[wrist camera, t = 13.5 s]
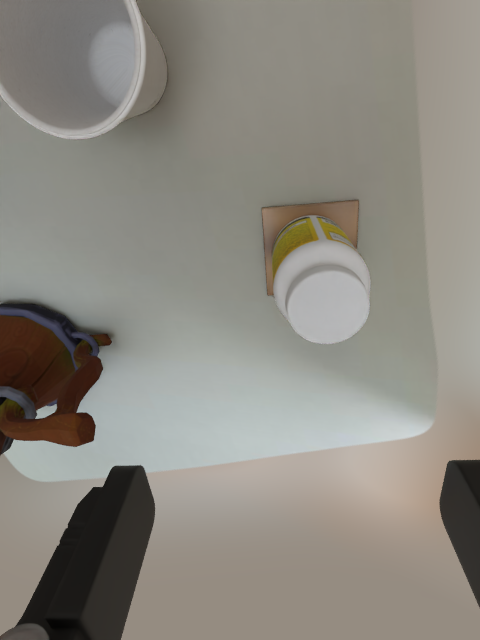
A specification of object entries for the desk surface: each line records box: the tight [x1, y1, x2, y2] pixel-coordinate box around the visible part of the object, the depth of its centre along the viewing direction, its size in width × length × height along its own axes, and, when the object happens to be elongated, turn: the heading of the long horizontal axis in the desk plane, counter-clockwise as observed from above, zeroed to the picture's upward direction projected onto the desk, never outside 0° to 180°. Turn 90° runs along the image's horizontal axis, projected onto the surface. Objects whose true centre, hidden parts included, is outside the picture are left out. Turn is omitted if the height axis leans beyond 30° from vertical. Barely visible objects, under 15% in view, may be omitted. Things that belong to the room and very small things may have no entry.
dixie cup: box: [0, 0, 167, 140], centre depth 22 cm, size 8×8×10 cm
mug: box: [0, 304, 112, 455], centre depth 31 cm, size 18×12×15 cm, turn 103°
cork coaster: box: [262, 200, 359, 295], centre depth 31 cm, size 8×8×1 cm
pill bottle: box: [272, 215, 371, 344], centre depth 26 cm, size 6×6×11 cm
